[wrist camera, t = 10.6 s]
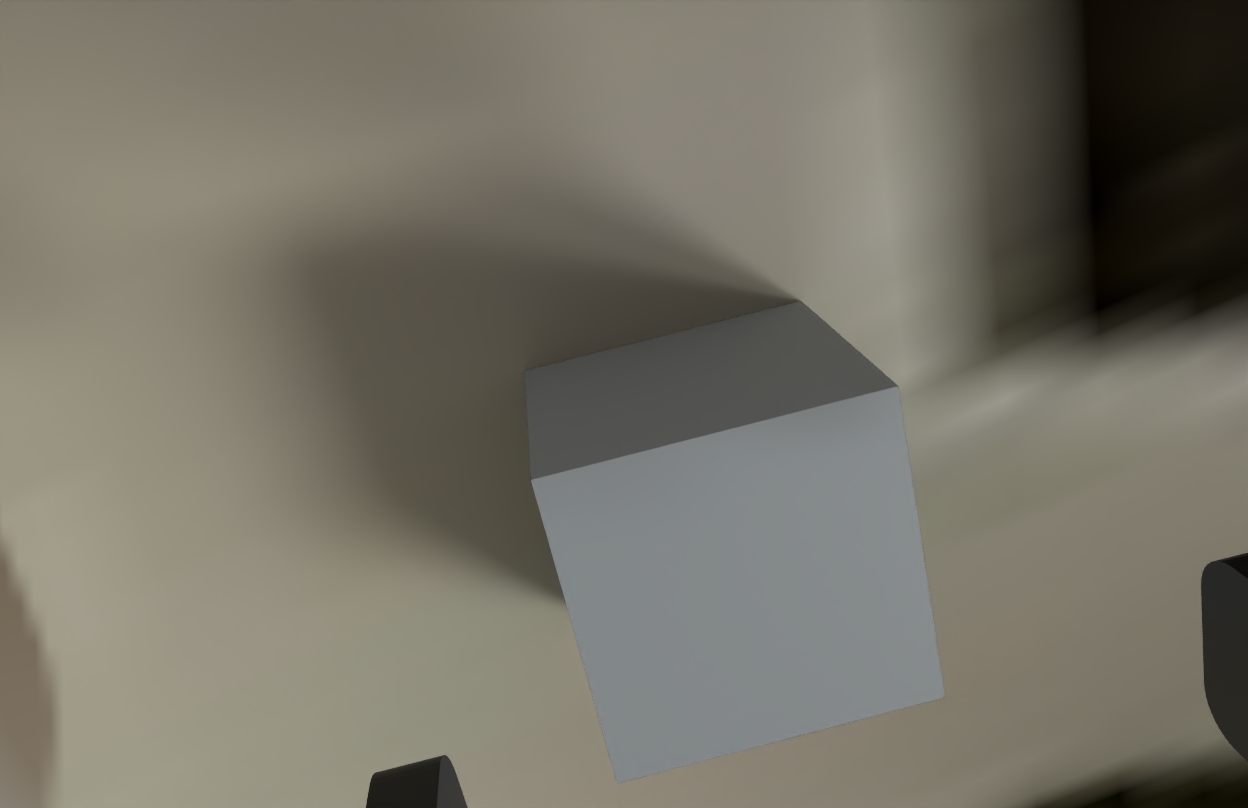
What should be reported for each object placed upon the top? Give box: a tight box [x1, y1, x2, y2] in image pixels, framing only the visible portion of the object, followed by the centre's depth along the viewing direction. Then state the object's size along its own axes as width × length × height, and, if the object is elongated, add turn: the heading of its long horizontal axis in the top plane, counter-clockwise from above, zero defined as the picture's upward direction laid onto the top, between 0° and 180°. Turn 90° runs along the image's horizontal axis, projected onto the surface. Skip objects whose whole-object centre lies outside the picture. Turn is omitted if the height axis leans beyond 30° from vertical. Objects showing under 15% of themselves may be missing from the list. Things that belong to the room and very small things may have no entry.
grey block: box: [524, 301, 945, 784], centre depth 17 cm, size 5×5×5 cm
